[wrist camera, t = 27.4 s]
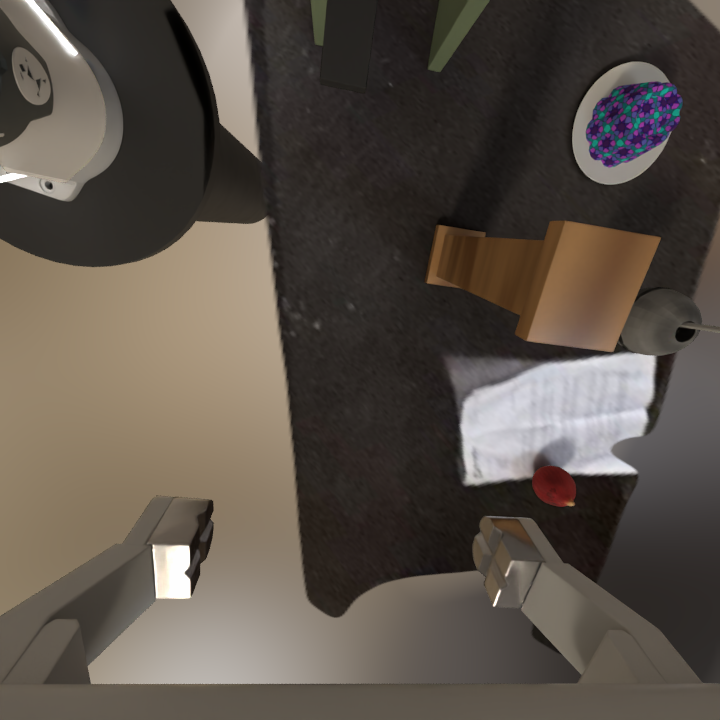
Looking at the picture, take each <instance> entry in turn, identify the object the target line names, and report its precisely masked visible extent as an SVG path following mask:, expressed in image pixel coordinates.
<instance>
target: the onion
mask: <svg viewBox="0 0 720 720" xmlns="http://www.w3.org/2000/svg"><path fill="white" fill-rule="evenodd" d="M532 485H533V489H534V491H535V492H536V494H537V496H538V497H539V498H540V499H541V500H542V501H544V502H545V503H548V504H551V505H555V506H562V507H563V506H566V505H569V506H574V505H575V503H574V502H573V500H574V498H575V495H576V486H575V483H574V481H573V479H572V477H571V476H570V474H569V473H567V472H566V471H565V470H563V469H562V468H560V467H555V466H543V467H541V468H539V469H538V470H537V471H536V472H535V474H534V476H533V480H532Z"/></svg>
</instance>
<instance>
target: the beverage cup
mask: <svg viewBox="0 0 720 720" xmlns="http://www.w3.org/2000/svg"><path fill="white" fill-rule="evenodd" d="M701 323H702V318H701V313H700V310H699V309H698V307H697V306H696V305H695V303H694V302H693V301H692V300H691V299H690V298H688V297H686V296H685V295H683V294H681V293H679V292H676V291H674V290H672V289H670V288H664V287H657V288H641V289H639V292H638V294H637V296H636V299H635V301H634V303H633V306H632V308H631V311H630V313H629V315H628V318H627V320H626V322H625V325H624V327H623V329H622V332H621V334H620V337H619V339H618V341H617V343H619V344H620V345H621V346H623V347H624V348H625V349H626V350H628V351H630V352H632V353H639V354H644V355H655V356H658V355H666V354H670V353H674V352H677V351H679V350H681V349H683V348H685V347H686V346H688V345H689V344H690V343H691V342H692V341H694V339H695V338H696V337H697V336H698V334H699V332H700V330H704V331H710V332H717V333H720V327H716V326H709V325H702V324H701Z"/></svg>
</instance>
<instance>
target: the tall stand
mask: <svg viewBox="0 0 720 720" xmlns="http://www.w3.org/2000/svg"><path fill="white" fill-rule="evenodd" d="M485 234H486V233H485V232H479V231H473V230H467V229H461V228H455V227H449V226H443V225H436V229H435V234H434V238H433V243H432V248H431V253H430V258H429V262H428V267H427V272H426V277H425V281H424V282H426V283H428V284H435V285H442V286H449V287H456V288H462V289H464V290H467V291H469V292H471V293H473V294H475V295H477V296H480V297H482V298H484V299H486V300H488V301H490V302H493V303H495V304H497V305H499V306H501V307H503V308H506V309H508V310H510V311H512V312H514V313H516V314H519V315H521V316H520V319H519V322H518V325H517V329H516V332H515V335H517V336H519V337H520V338H522V339H524V340H526V341H530V342H538V343H546V344H554V345H561V346H569V347H577V348H585V349H593V350H600V351H608V352H613V351H614V348H615V346H616V344H617V341H618V339H619V337H620V334H621V332H622V329H623V327H624V325H625V322H626V320H627V318H628V315H629V313H630V311H631V308H632V306H633V303H634V301H635V299H636V296H637V294H638V292H639V289H640V287H641V284H642V282H643V280H644V277H645V275H646V273H647V270H648V268H649V266H650V263H651V261H652V258H653V256H654V254H655V251H656V249H657V247H658V244H659V242H660V239H661V237H656V236H651V235H645V234H639V233H634V232H628V231H622V230H617V229H611V228H605V227H600V226H594V225H588V224H582V223H577V222H571V221H550V223H549V226H548V230H547V233H546V236H545V239H544V241H543V240H526V239H508V238H490V237H485Z"/></svg>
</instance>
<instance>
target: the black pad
mask: <svg viewBox="0 0 720 720" xmlns="http://www.w3.org/2000/svg"><path fill="white" fill-rule="evenodd" d="M377 1H378V0H327V6H326V17H325V28H324V39H323V49H322V60H321V71H320V84H321V85H326V86H330V87H335V88H340V89H345V90H349V91H354V92H359V93H363V94H364V93H365V90H366V85H367V77H368V70H369V62H370V54H371V47H372V39H373V32H374V24H375V16H376V9H377Z"/></svg>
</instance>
